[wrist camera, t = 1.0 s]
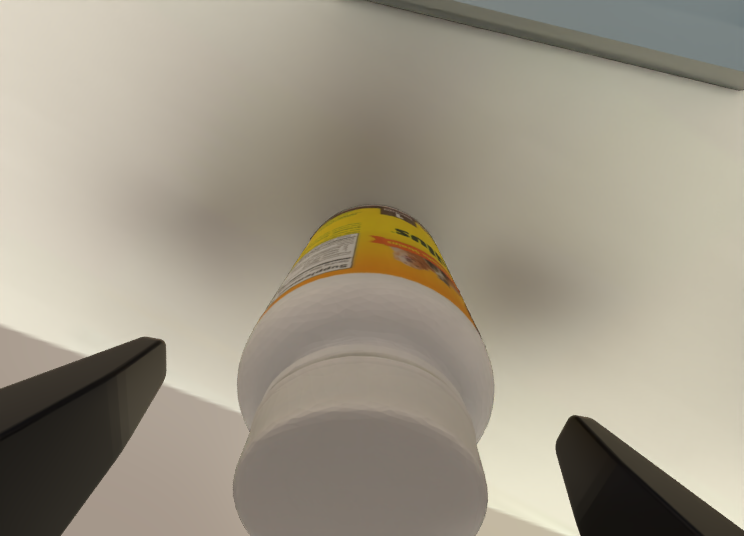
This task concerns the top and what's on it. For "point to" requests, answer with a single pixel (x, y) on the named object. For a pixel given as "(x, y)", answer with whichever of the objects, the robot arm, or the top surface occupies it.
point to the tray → (617, 30)
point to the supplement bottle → (364, 391)
